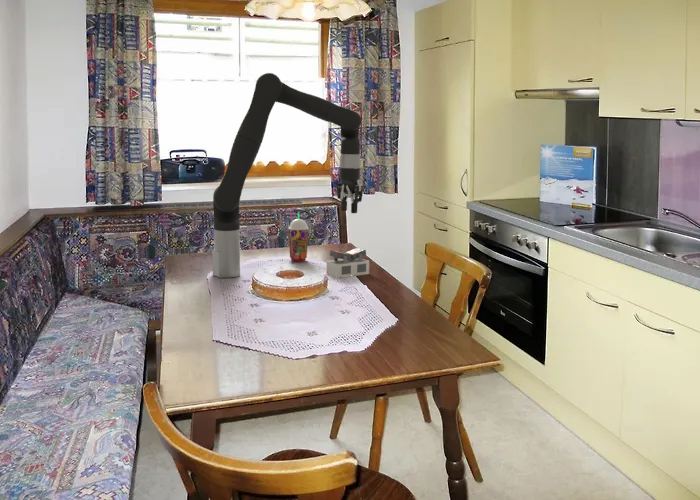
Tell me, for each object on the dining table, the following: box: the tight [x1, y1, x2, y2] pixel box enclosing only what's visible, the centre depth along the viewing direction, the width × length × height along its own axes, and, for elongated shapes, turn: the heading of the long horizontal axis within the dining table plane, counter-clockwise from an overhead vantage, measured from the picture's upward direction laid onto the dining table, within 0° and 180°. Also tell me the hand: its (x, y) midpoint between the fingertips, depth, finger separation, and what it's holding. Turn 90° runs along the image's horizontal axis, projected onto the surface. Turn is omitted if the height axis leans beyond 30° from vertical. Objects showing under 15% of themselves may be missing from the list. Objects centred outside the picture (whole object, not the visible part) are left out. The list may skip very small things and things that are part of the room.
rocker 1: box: [329, 249, 351, 260], centre depth 254 cm, size 6×5×2 cm
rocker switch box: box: [325, 254, 370, 279], centre depth 257 cm, size 14×8×8 cm, turn 125°
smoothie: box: [287, 211, 310, 263], centre depth 278 cm, size 8×8×20 cm
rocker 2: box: [345, 246, 367, 260], centre depth 258 cm, size 6×5×2 cm
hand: (349, 211), depth 253 cm, fingers open, 6 cm apart
